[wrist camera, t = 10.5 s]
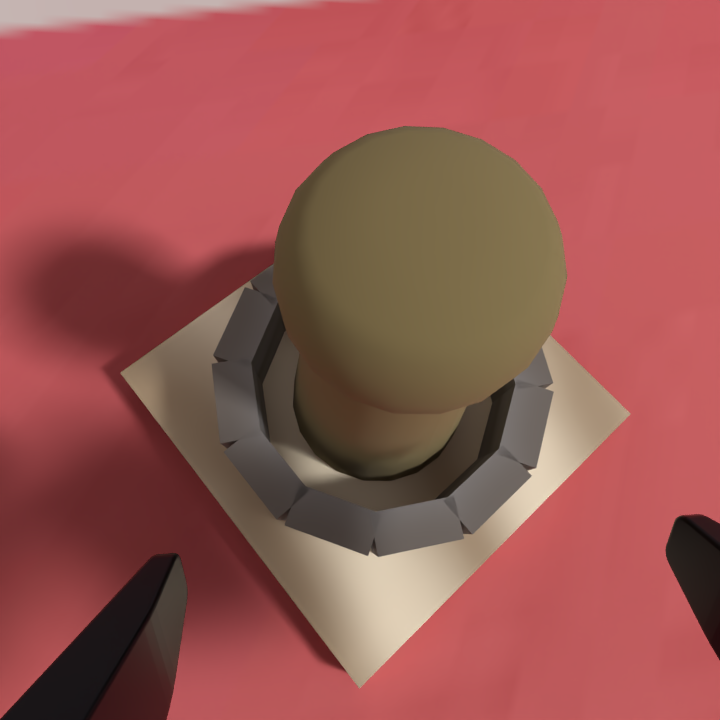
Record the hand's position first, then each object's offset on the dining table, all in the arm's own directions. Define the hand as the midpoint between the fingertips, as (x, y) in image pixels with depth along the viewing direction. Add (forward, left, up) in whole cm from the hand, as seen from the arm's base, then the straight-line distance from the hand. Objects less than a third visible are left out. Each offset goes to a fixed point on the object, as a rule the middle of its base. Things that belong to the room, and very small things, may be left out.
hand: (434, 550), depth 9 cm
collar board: (+3, +4, -9) cm, 10 cm away
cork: (+3, +4, -8) cm, 9 cm away
